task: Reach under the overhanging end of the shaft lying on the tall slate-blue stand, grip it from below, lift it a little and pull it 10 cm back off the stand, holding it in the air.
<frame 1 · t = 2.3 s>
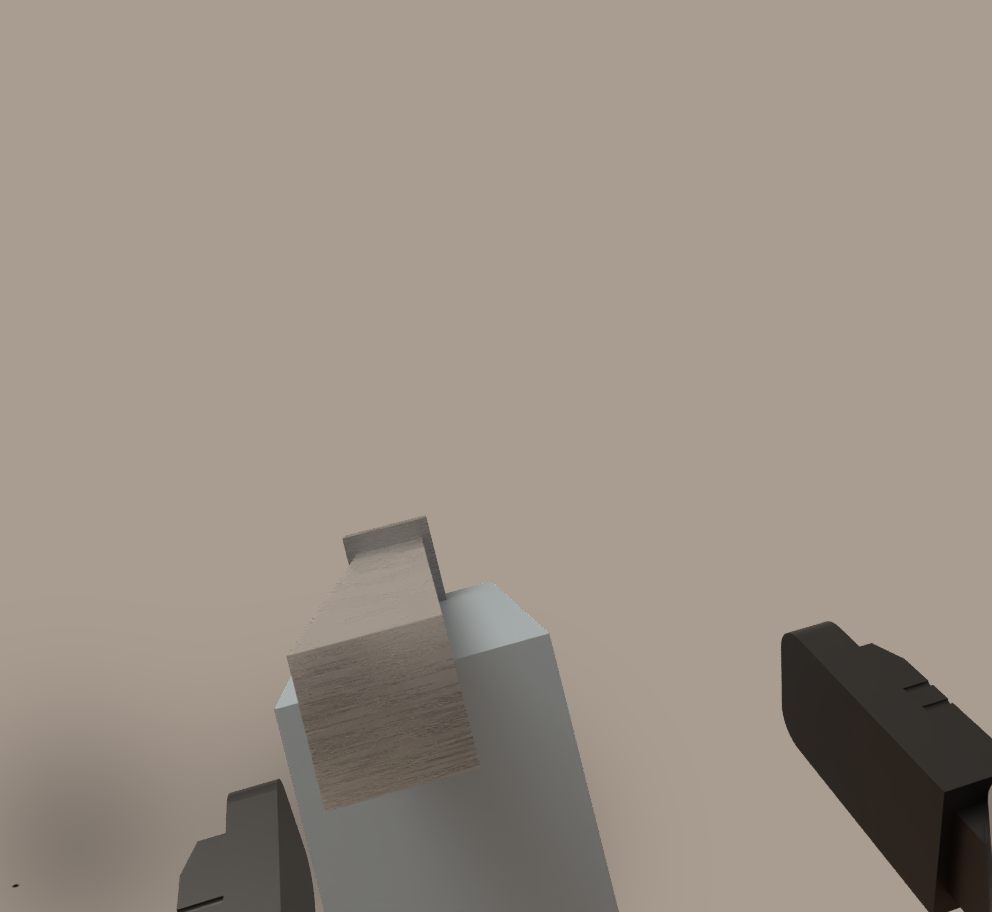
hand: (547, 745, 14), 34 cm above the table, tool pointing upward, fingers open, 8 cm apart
shaft: (404, 657, 35), point 32 cm above the table, touching stand
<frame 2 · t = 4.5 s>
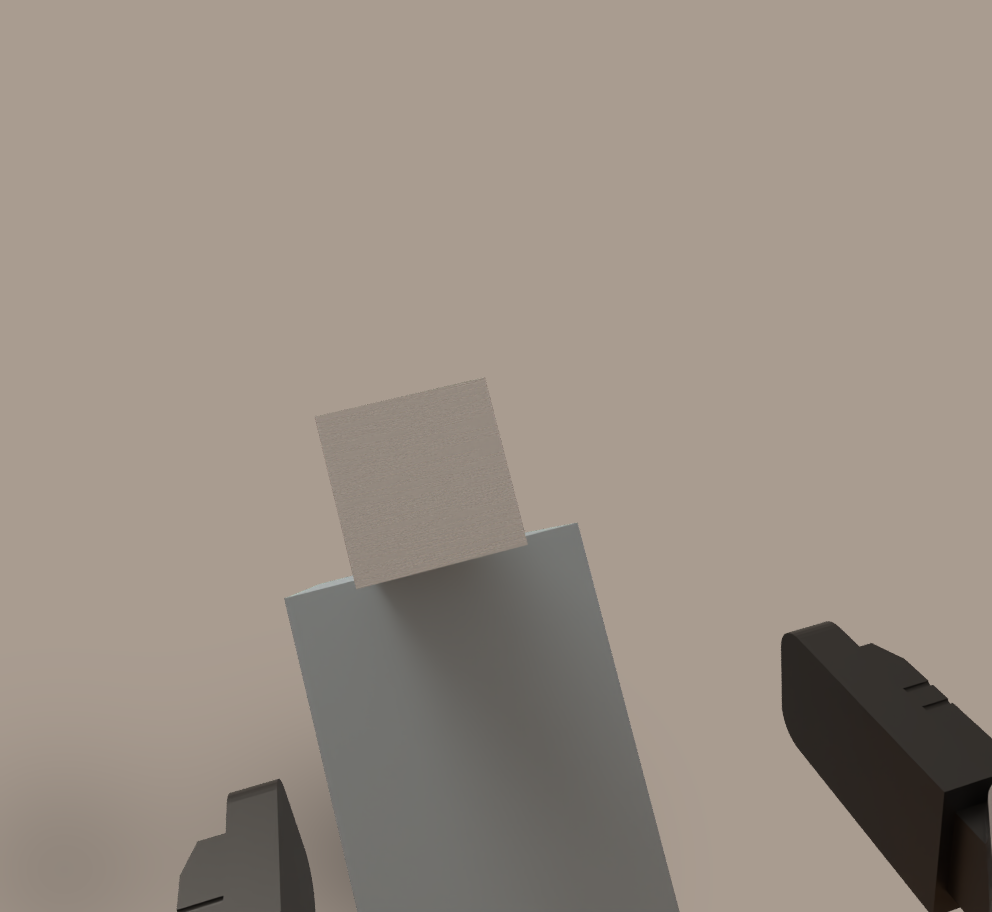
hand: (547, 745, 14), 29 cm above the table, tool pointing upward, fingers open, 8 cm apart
shaft: (421, 561, 33), point 32 cm above the table, touching stand
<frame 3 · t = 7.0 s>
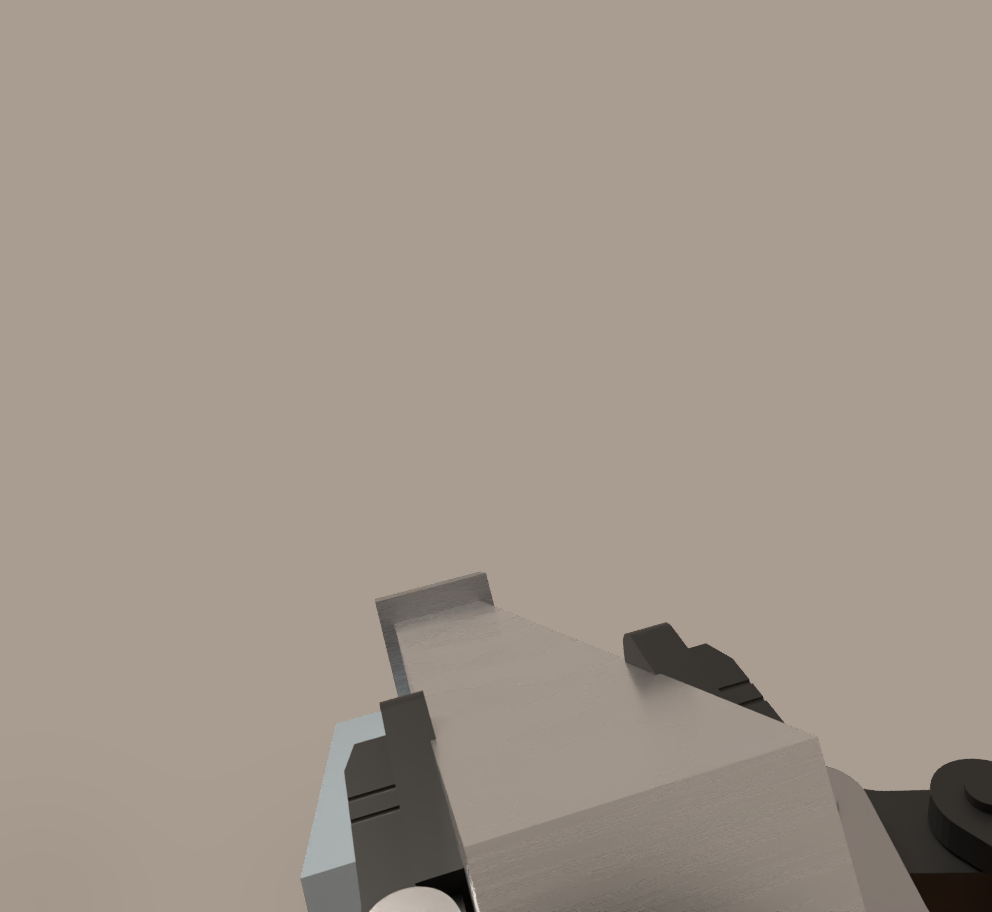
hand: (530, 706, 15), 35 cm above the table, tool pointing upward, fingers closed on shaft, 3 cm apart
shaft: (505, 776, 23), point 32 cm above the table, touching gripper, stand
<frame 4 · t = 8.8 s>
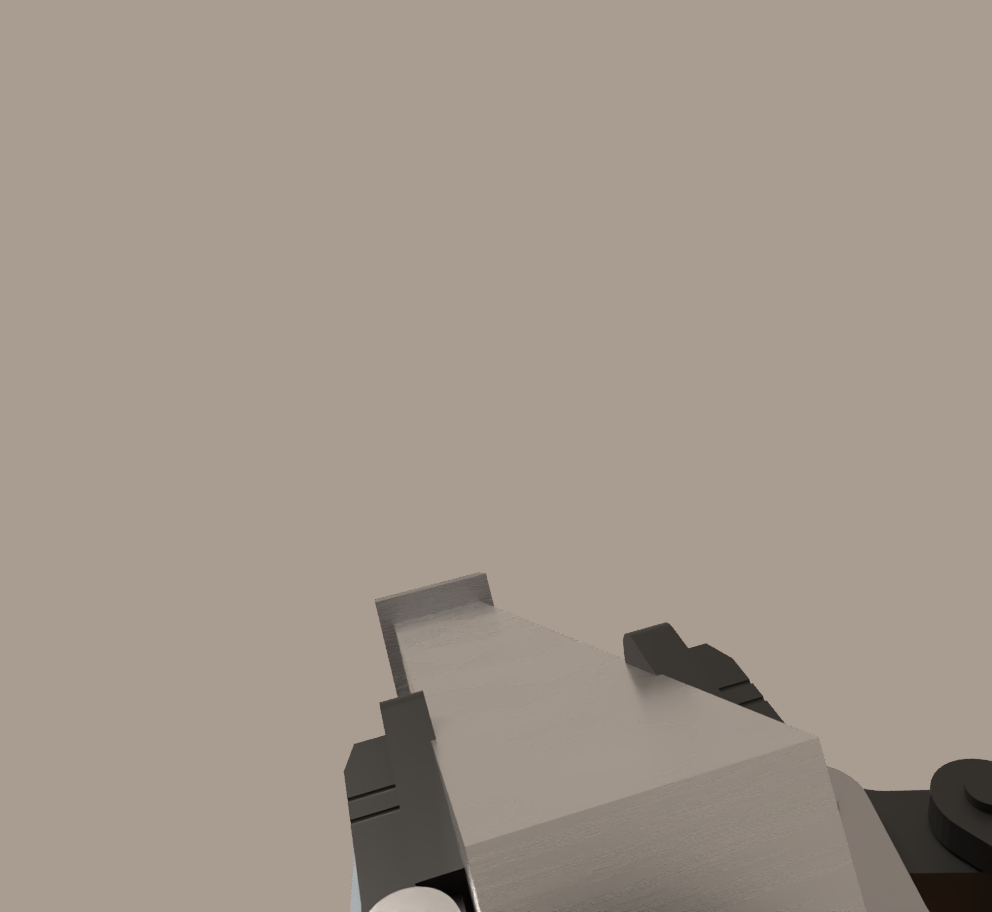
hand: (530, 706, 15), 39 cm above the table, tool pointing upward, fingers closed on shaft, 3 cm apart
shaft: (504, 776, 23), point 36 cm above the table, touching gripper
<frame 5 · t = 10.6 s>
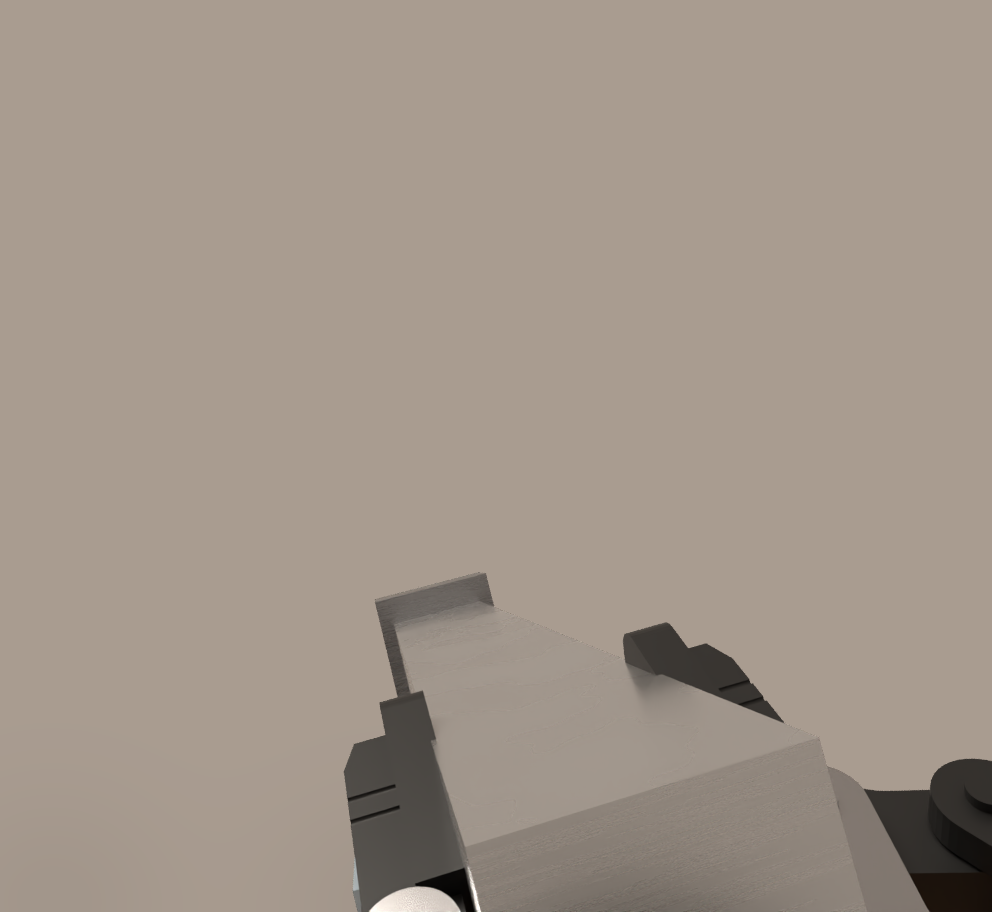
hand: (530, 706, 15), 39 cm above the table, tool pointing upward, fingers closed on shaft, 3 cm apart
shaft: (504, 776, 23), point 36 cm above the table, touching gripper
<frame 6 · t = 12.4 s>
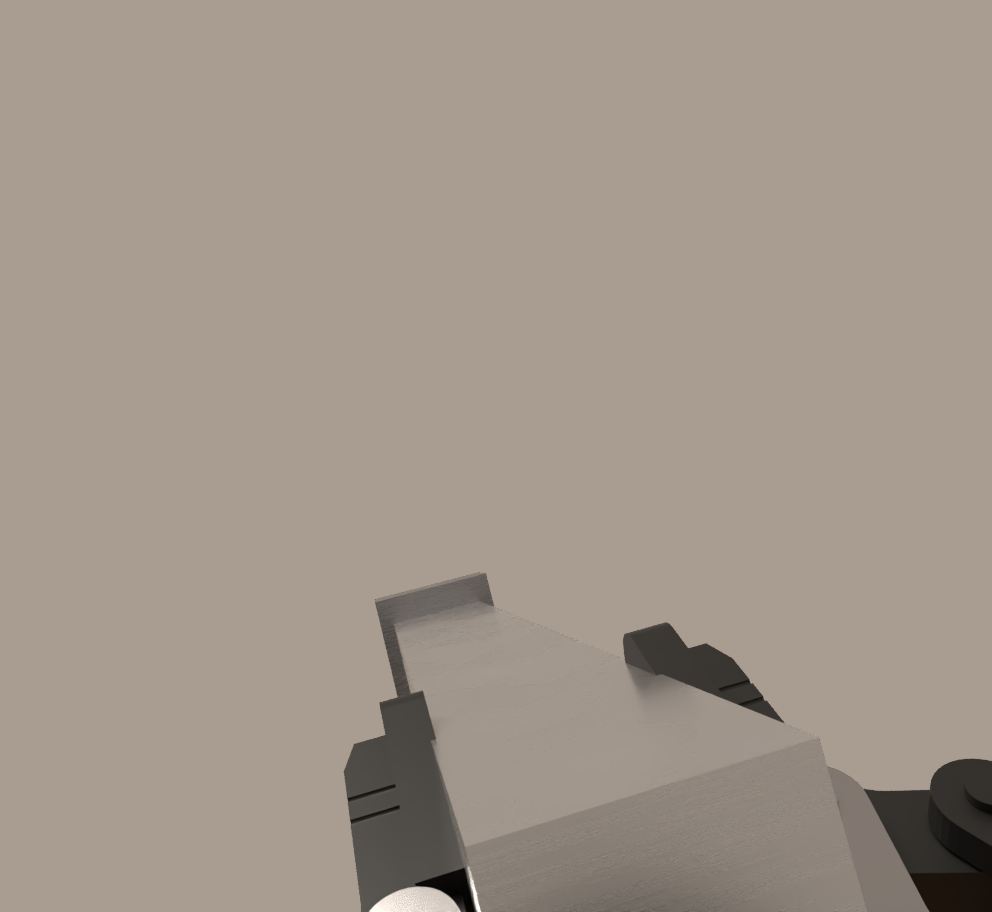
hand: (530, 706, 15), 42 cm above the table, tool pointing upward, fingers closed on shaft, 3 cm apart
shaft: (504, 776, 23), point 39 cm above the table, touching gripper
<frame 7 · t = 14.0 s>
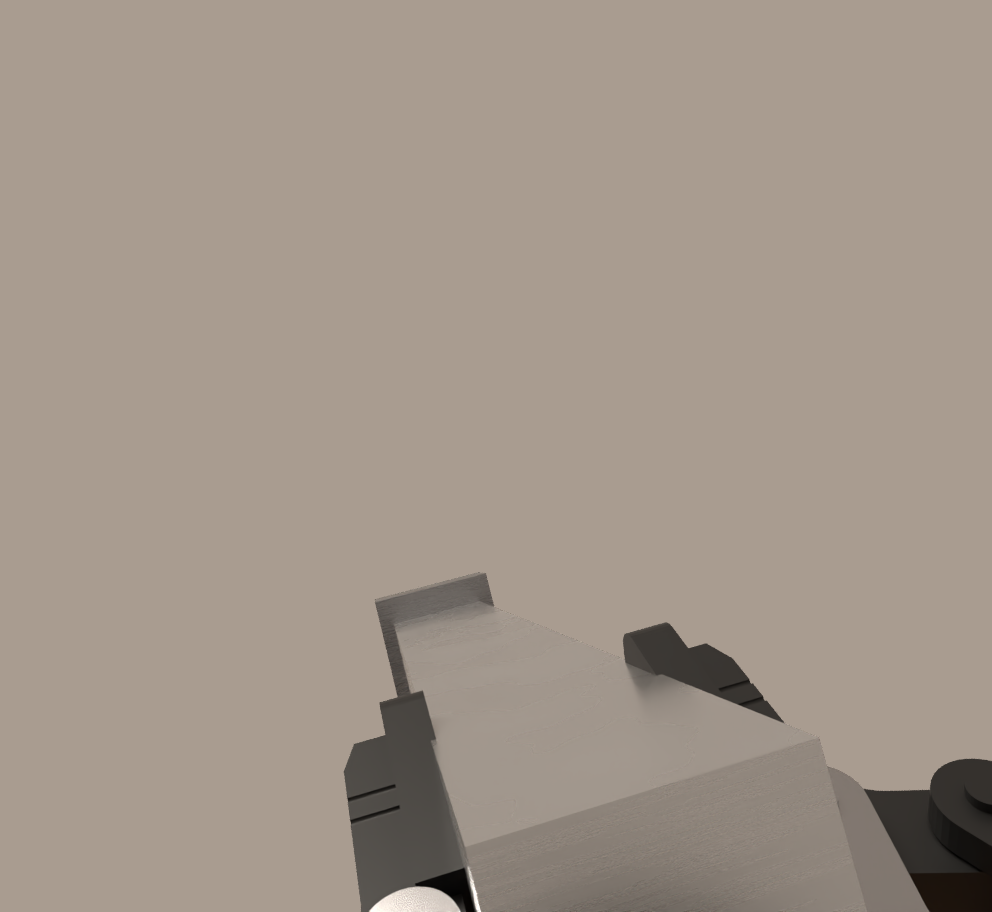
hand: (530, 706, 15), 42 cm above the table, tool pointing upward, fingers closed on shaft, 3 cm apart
shaft: (504, 776, 23), point 39 cm above the table, touching gripper
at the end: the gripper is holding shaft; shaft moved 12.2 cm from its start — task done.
